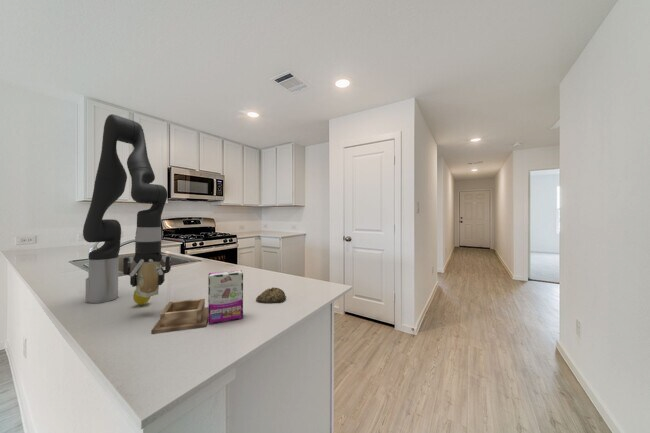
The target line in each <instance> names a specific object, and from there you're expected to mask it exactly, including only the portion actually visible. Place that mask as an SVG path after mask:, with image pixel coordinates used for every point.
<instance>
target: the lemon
mask: <svg viewBox="0 0 650 433" xmlns="http://www.w3.org/2000/svg"><path fill="white" fill-rule="evenodd" d="M132 297H133V301H134V303H135V304H138V305H140V306H144V304H146V303H148V302H149V301H150V299H151V297H147V298H146V297H142V296H139V295H136V289H135V290H134V291H133V295H132Z"/></svg>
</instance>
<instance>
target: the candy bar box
mask: <svg viewBox="0 0 650 433" xmlns="http://www.w3.org/2000/svg"><path fill="white" fill-rule="evenodd" d="M207 275H208V278H207V281H208V282H207V283H208V284H207V285H208V287H207V288H208V290H207V291H208V292H207V295H208V298H207V304H208V306H207V307H208V321H207V324H208V325H214V324H219V323H226V322H231V321H236V320H242V319H244V271H243V270H241V269H239V270H229V271H227V270H226V271H218V272H217V271H216V272H208V274H207Z"/></svg>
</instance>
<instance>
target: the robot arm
mask: <svg viewBox="0 0 650 433" xmlns="http://www.w3.org/2000/svg"><path fill="white" fill-rule="evenodd" d="M145 138H146V137H145V133H144V129H143V126H142V125H141V124H140V123H139V122H137V121H136V120H132V119H129V118H127V117H123V116H120V115H117V114H113V113H112V114H111V113H110V114H109V115H107V117H106V119H105V120H104V125H103V131H102V144H101V151H100V158H99V162H98V165H97V166H98V167H97V170H96V175H95V179H94V185H93V192H92V197H91V202H90V205H89V208H88V212H87V214H86V217H85V220H84V225H83V229H82V236H83V239H84V241H85V242H86V243H102V242H103V245H101V246H100V247H98V248H97V249H93V250H92V251H90V252H88V277H87V278H86V279H85V294H84V295H85V304H86V303H90V304H94V303H95V304H97V303H98V304H99V303H106V302H110V301H114V300H116V299H117V298H119V256H120V255H119V254H120V251H121V239H122V226H121V223H120V222H119V220H117V219H113V218H111V219H110V218H109V219H103V218H104V215H105V214H106V212H107V210H108V209H109V208H110V207H111V206H112V205H113V204H114V203H115V202H116V201H117V200H118V199H119V198H120V197H121V196H122V195H124V192H125V191H126V190H125V189H126V185H127V181H128V174H127V171H126V170H125V167H124V166H123V163H122V161H121V160H120V157H119V155H118V150H117V143H118V142H120V143H125V144H128V145H129V144H130V145H132V147H133V150H132V152H130V154H129V155H128V158H127V159H126V165H127V169H128V173H129V175H130V178H131V189H130V196H131V198H132V200H133V201H134V202H136V203H139V204H152V205H151V206H150V207H149V208H148V209H144V210H139V211H138V212H137V214H136V230H135V237H134V240H135V243H134V245H135V248H134V249H135V251H134V256H125V257H124V258H123V261H122V262H123V266H122V268H123V271H122V273H123V275H126V276H130V278H129V279H130V282H129V283H130V286H132V287H133V288H136V279H137V271H138V270H139V268H140V267H141V265H142V264H143V262H160V267H159V266H158V265H156V270H157V272H158V273H159V283H158V285H159V286H161V285H163V283H164V282H165V275H166V274H167V273H169V272H171V269H172V268H171V267H172V255H162V214H163V211H164V207H165V205H166V202H167V199H168V195H169V194H168V190H167V189H166V187H165V186H163V185H162V184H154V183H153V182H155V179H156V175H155V173H154V170H153V167H152V165H151V163H150V159H149V156H148V151H147V142H146V139H145ZM161 261H163V262H164V263H165V265H164V266H165V267H163V265H161ZM133 262H135V264H136V265H135V267H134V268H133V270H131V268H132V267H131V265H132V264H131V263H133ZM164 268H165V269H164Z"/></svg>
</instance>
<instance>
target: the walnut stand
mask: <svg viewBox="0 0 650 433" xmlns="http://www.w3.org/2000/svg"><path fill="white" fill-rule="evenodd" d="M205 299H206V298H197V299H188V300H187V299H186V300H176V301H175V300H174V301H169V302H168V303H167V305H166V306H165V307H164V308H163V309H162V311H161V313H160V314H159V319H158V320H157V322H156V323H155V325H154V326H153V328H152V329H151V332H150V333H151V334H152V335H153V334H154V335H155V334H161V333H171V332H177V331H178V332H179V331H185V330H192V329H193V330H194V329H200V328H207V324H208V306H205V304H206V302H205V301H206V300H205Z"/></svg>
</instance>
